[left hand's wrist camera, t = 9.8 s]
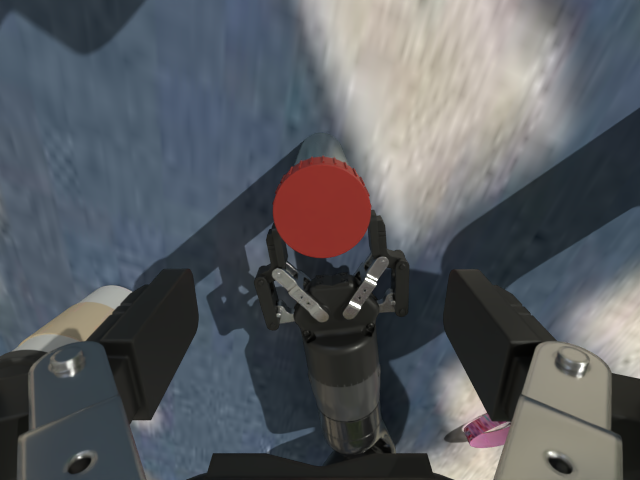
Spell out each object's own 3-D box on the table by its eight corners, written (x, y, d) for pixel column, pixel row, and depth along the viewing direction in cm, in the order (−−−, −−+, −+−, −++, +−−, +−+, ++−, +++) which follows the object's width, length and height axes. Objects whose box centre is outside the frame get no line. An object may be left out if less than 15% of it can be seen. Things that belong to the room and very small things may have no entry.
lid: (384, 183, 21) (392, 194, 19) (337, 257, 23) (339, 275, 20) (303, 137, 20) (301, 143, 18) (261, 217, 22) (254, 232, 19)
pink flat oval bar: (472, 443, 51) (478, 457, 49) (459, 425, 50) (465, 439, 48) (548, 410, 49) (557, 424, 46) (536, 390, 47) (545, 404, 45)
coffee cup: (103, 350, 45) (6, 466, 31) (63, 289, 42) (-66, 388, 28) (170, 332, 44) (101, 443, 30) (134, 267, 41) (37, 359, 27)
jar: (351, 147, 36) (379, 195, 19) (329, 185, 37) (336, 262, 21) (312, 124, 35) (305, 153, 18) (290, 164, 37) (266, 226, 20)
